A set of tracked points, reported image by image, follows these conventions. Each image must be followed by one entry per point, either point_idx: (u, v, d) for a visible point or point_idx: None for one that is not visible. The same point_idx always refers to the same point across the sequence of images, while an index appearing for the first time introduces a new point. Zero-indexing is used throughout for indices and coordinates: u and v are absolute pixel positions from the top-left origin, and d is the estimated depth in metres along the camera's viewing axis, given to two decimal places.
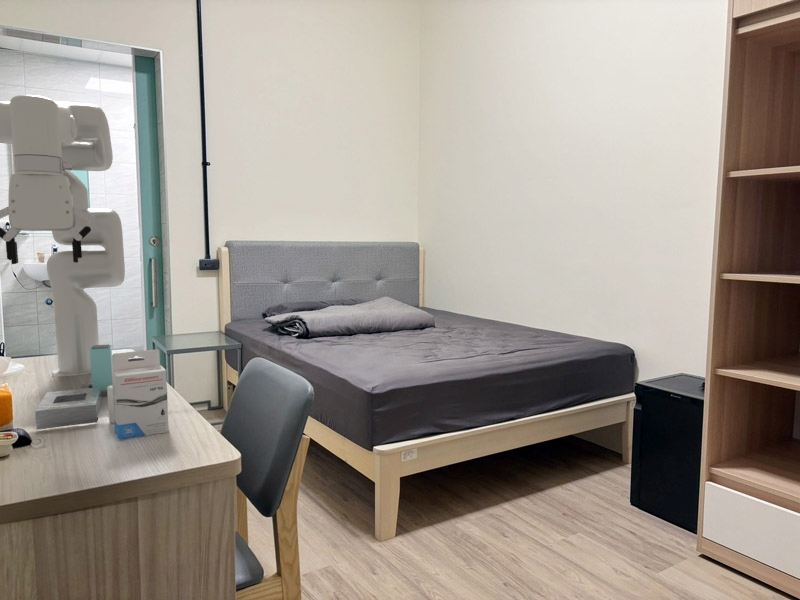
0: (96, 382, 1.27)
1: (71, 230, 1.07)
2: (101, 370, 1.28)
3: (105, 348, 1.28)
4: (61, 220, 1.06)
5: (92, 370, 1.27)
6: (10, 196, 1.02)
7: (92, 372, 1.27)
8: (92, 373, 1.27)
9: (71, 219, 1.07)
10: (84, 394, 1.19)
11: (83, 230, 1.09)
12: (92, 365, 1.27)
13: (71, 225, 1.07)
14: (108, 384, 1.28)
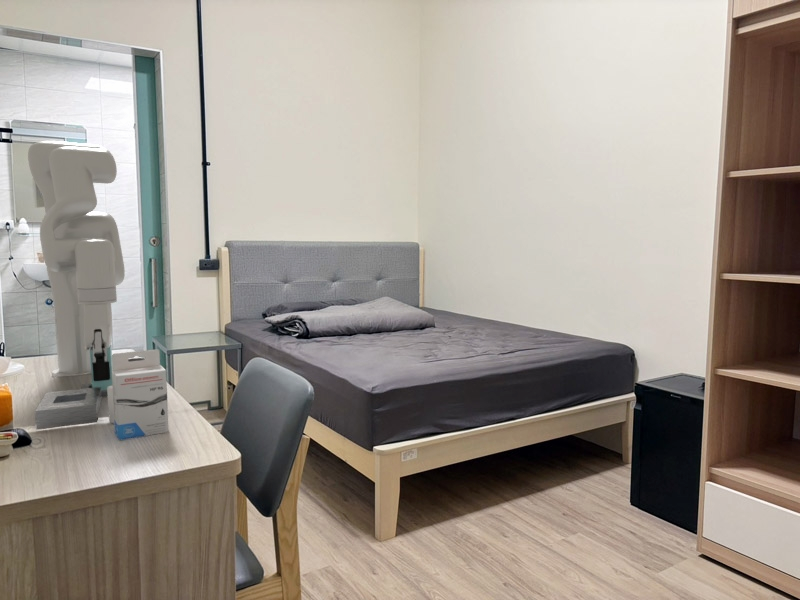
0: (96, 382, 1.27)
1: None
2: None
3: None
4: None
5: (92, 370, 1.27)
6: (107, 322, 1.25)
7: (92, 372, 1.27)
8: (92, 373, 1.27)
9: None
10: (84, 394, 1.19)
11: None
12: (92, 365, 1.27)
13: None
14: (108, 384, 1.28)
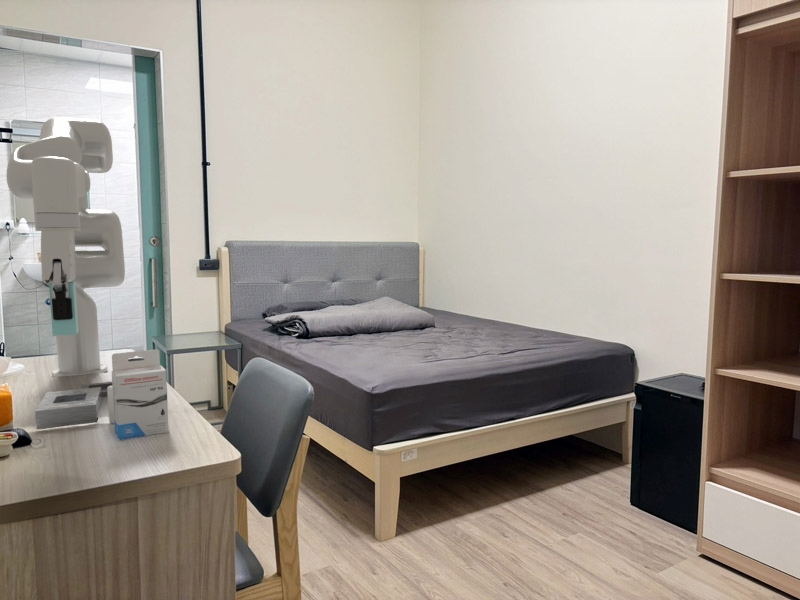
0: (57, 321, 1.12)
1: None
2: None
3: None
4: None
5: None
6: (68, 251, 1.09)
7: (52, 310, 1.11)
8: (52, 311, 1.11)
9: None
10: (84, 394, 1.19)
11: None
12: None
13: None
14: (71, 324, 1.13)
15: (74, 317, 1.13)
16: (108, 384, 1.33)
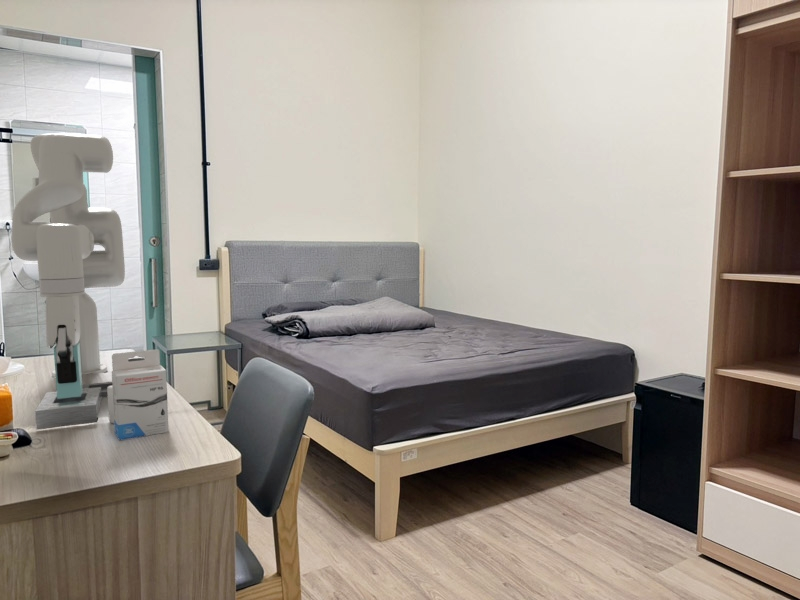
0: (61, 384, 1.13)
1: None
2: None
3: None
4: None
5: (56, 371, 1.13)
6: (73, 316, 1.11)
7: (56, 373, 1.13)
8: (56, 374, 1.13)
9: None
10: (84, 394, 1.19)
11: None
12: (56, 365, 1.12)
13: None
14: (75, 387, 1.14)
15: (78, 380, 1.14)
16: (108, 384, 1.33)
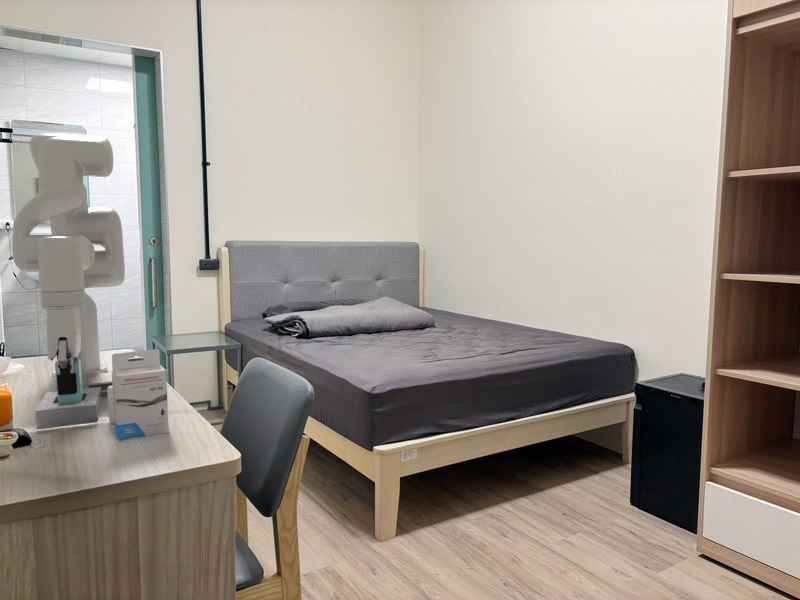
0: (62, 400, 1.14)
1: (77, 355, 1.19)
2: None
3: None
4: None
5: None
6: (73, 329, 1.11)
7: None
8: None
9: None
10: (84, 394, 1.19)
11: None
12: None
13: None
14: None
15: (80, 395, 1.15)
16: (108, 384, 1.33)
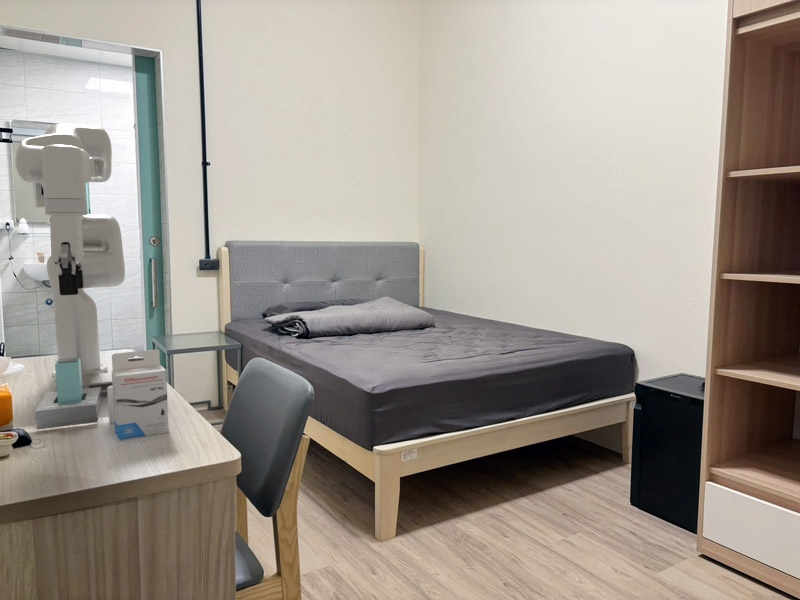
0: (62, 400, 1.14)
1: (80, 261, 1.25)
2: (68, 387, 1.14)
3: (73, 362, 1.14)
4: None
5: (58, 387, 1.13)
6: (76, 235, 1.16)
7: (58, 389, 1.13)
8: (58, 390, 1.13)
9: None
10: (84, 394, 1.19)
11: None
12: (58, 381, 1.13)
13: None
14: None
15: (80, 395, 1.15)
16: (108, 384, 1.33)
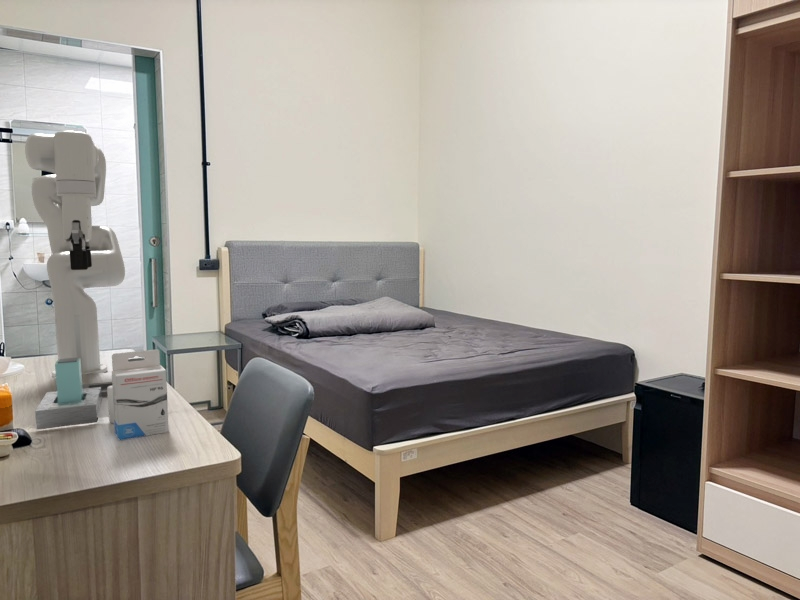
0: (62, 400, 1.14)
1: (88, 241, 1.33)
2: (68, 387, 1.14)
3: (73, 362, 1.14)
4: None
5: (58, 387, 1.13)
6: (86, 214, 1.25)
7: (58, 389, 1.13)
8: (58, 390, 1.13)
9: None
10: (84, 394, 1.19)
11: (86, 241, 1.35)
12: (58, 381, 1.13)
13: (91, 237, 1.33)
14: None
15: (80, 395, 1.15)
16: (108, 384, 1.33)
